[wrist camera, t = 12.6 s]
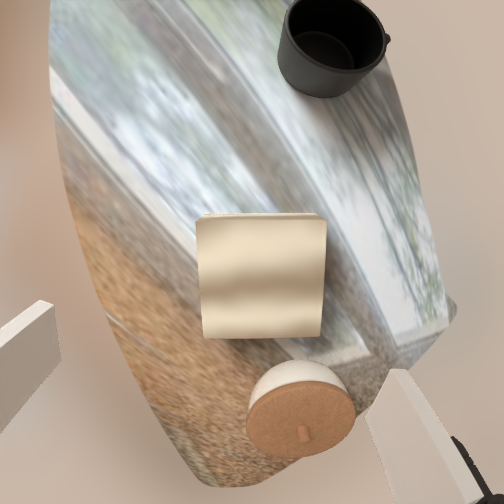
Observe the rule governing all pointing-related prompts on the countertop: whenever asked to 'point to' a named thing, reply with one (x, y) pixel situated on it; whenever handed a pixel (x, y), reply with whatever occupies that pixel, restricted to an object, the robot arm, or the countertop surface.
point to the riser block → (261, 274)
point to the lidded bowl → (299, 410)
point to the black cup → (329, 45)
